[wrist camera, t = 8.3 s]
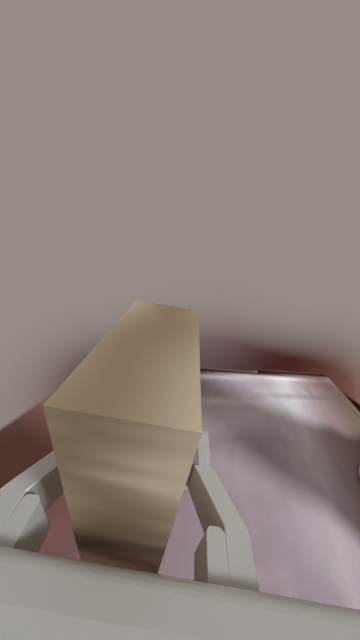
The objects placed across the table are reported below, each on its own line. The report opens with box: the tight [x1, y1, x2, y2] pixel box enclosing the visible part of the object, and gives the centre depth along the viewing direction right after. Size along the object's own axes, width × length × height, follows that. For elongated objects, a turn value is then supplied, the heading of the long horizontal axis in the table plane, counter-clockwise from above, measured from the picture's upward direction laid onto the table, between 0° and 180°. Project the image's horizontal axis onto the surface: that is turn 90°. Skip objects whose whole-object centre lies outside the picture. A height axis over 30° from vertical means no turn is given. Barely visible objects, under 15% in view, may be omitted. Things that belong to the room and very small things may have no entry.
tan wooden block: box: [43, 300, 202, 574], centre depth 9 cm, size 3×6×14 cm, turn 176°
